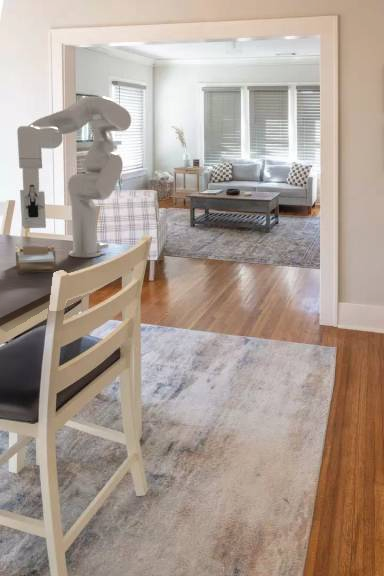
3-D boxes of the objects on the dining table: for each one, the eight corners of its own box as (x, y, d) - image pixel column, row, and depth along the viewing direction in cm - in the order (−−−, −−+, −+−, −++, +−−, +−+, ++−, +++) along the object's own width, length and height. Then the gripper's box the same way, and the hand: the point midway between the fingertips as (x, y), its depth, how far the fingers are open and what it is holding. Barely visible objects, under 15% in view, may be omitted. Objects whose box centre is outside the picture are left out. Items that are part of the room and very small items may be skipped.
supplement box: (24, 229, 196) (22, 191, 193) (21, 225, 202) (19, 189, 199) (46, 228, 199) (44, 191, 195) (43, 224, 205) (41, 189, 202)
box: (17, 265, 208) (15, 245, 206) (54, 263, 211) (53, 244, 209) (16, 273, 196) (15, 252, 194) (56, 271, 199) (55, 250, 197)
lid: (18, 254, 195) (18, 245, 194) (52, 253, 198) (52, 244, 197) (18, 262, 183) (17, 252, 182) (54, 261, 186) (54, 251, 185)
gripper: (19, 162, 202) (22, 212, 207) (19, 165, 186) (22, 219, 190) (41, 162, 204) (43, 212, 209) (42, 165, 188) (45, 218, 192)
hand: (33, 215), depth 199 cm, fingers closed on supplement box, 7 cm apart
